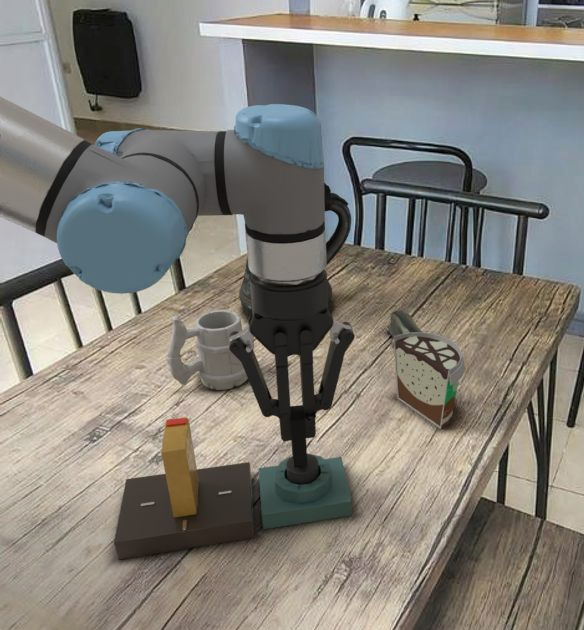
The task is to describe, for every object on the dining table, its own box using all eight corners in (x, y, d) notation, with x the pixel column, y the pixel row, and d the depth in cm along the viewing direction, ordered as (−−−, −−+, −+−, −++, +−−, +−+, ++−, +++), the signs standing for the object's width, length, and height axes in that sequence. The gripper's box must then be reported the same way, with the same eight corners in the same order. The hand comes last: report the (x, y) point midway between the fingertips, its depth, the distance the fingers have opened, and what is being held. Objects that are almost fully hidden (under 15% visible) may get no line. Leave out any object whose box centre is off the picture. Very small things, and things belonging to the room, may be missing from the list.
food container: (480, 417, 96) (485, 356, 91) (448, 434, 92) (451, 371, 87) (422, 379, 104) (424, 322, 99) (390, 394, 100) (391, 335, 96)
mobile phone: (440, 343, 104) (398, 301, 116) (422, 348, 103) (381, 304, 114) (438, 371, 106) (397, 326, 118) (421, 375, 105) (381, 330, 117)
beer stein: (222, 307, 123) (205, 171, 112) (306, 276, 136) (299, 151, 125) (279, 339, 114) (267, 194, 102) (363, 302, 126) (361, 170, 115)
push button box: (263, 529, 76) (260, 502, 74) (260, 482, 83) (257, 456, 81) (351, 515, 78) (351, 488, 76) (341, 470, 85) (340, 444, 83)
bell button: (288, 487, 77) (287, 475, 76) (286, 466, 80) (285, 455, 79) (320, 482, 78) (319, 470, 77) (316, 462, 81) (316, 450, 80)
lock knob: (196, 514, 74) (185, 447, 70) (173, 517, 74) (160, 450, 70) (198, 481, 79) (188, 416, 75) (177, 483, 79) (165, 418, 74)
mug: (260, 380, 103) (252, 309, 97) (182, 406, 96) (169, 332, 91) (239, 358, 108) (231, 290, 102) (164, 382, 102) (151, 310, 96)
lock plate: (118, 559, 72) (113, 541, 70) (129, 495, 80) (125, 477, 79) (254, 537, 75) (252, 519, 74) (251, 477, 83) (249, 460, 82)
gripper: (348, 251, 72) (351, 432, 82) (219, 259, 69) (240, 446, 79) (360, 281, 65) (361, 473, 76) (218, 291, 62) (241, 489, 73)
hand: (299, 459), depth 78 cm, fingers closed
